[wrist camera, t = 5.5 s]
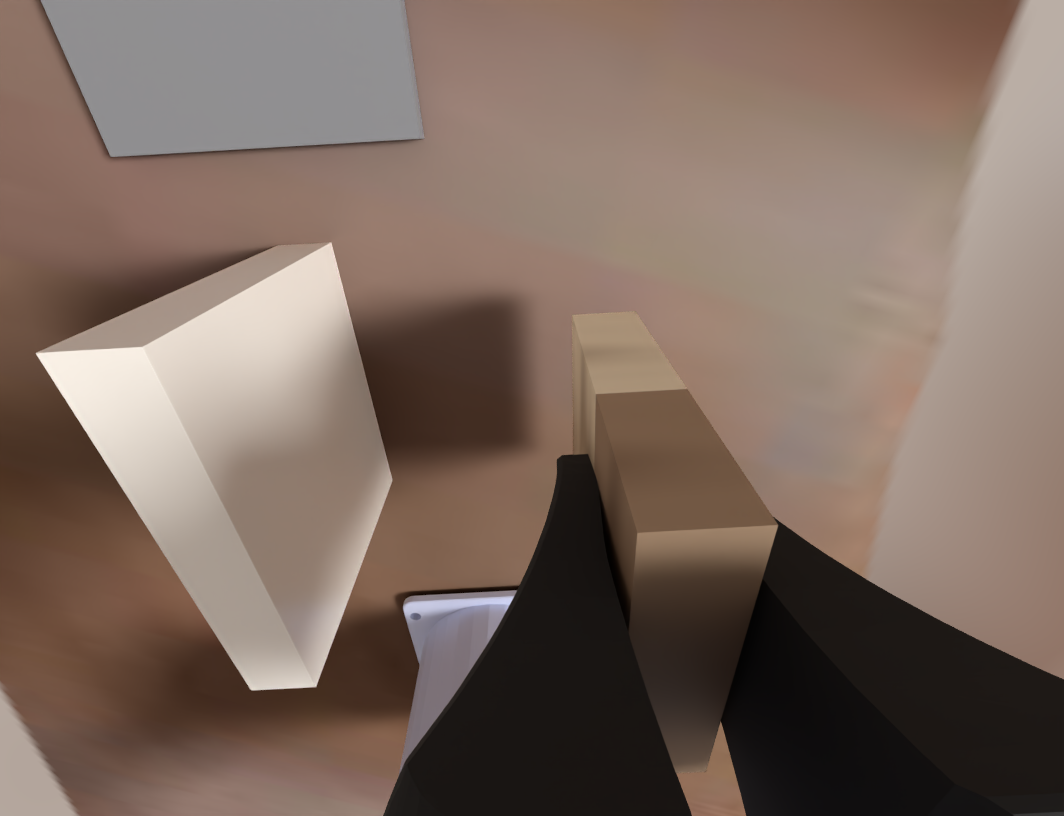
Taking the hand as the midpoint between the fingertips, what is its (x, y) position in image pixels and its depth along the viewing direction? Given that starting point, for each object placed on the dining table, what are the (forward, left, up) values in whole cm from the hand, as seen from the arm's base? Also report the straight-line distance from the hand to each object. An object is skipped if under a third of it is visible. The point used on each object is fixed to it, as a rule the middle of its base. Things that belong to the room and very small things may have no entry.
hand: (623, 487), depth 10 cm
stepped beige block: (0, 0, -3) cm, 3 cm away
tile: (0, +8, -6) cm, 11 cm away
